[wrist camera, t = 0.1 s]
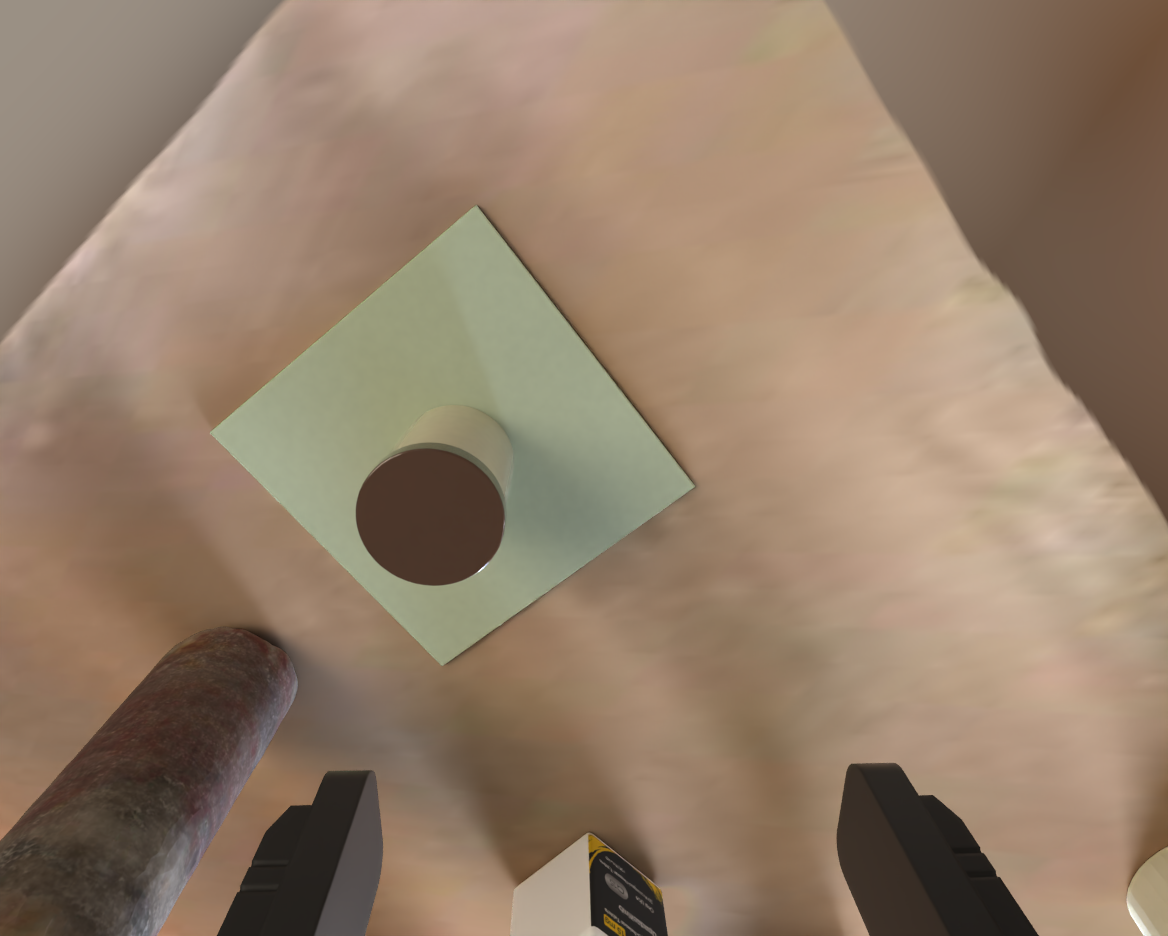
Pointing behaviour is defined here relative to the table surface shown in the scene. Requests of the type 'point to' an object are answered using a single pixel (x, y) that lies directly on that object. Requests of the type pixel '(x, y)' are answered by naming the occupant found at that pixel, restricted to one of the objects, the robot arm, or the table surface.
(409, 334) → the desk mat
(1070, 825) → the table surface
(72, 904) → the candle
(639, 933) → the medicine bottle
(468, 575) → the jar
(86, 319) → the table surface
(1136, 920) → the reusable coffee cup
